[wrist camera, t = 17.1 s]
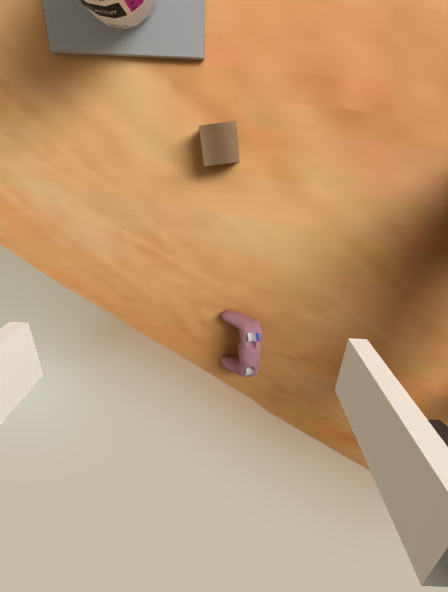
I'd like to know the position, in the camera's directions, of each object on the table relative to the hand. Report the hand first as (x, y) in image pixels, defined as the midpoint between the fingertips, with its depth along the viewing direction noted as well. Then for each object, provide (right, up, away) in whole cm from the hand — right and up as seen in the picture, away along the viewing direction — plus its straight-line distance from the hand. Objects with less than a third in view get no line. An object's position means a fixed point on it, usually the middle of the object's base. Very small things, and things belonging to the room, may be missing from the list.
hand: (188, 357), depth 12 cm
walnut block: (+1, +20, +22) cm, 30 cm away
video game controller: (+4, -4, +34) cm, 34 cm away
